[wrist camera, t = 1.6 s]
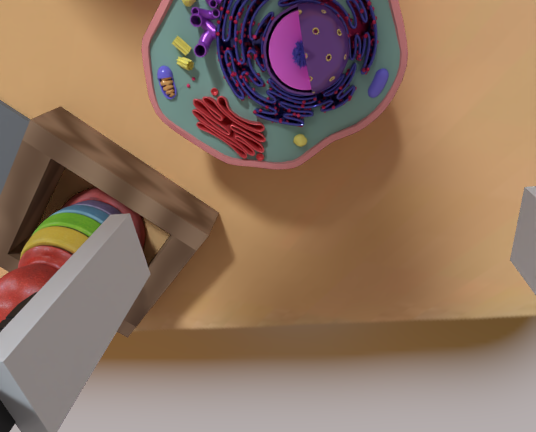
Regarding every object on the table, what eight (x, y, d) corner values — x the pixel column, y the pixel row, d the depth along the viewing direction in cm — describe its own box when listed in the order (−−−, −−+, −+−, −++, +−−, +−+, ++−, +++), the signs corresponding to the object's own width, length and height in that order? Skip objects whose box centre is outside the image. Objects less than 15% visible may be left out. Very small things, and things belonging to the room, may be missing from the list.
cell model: (145, -25, 34) (77, -33, 25) (379, -95, 30) (408, -137, 21) (203, 154, 42) (169, 203, 32) (395, 118, 38) (423, 161, 28)
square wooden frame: (6, 231, 50) (-23, 253, 46) (60, 106, 41) (30, 119, 37) (142, 310, 55) (127, 337, 50) (218, 212, 45) (208, 235, 41)
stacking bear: (54, 229, 49) (-66, 335, 34) (79, 166, 45) (-47, 258, 29) (132, 270, 51) (52, 389, 36) (163, 215, 47) (87, 325, 31)
